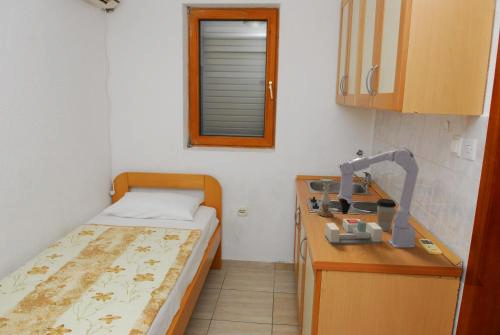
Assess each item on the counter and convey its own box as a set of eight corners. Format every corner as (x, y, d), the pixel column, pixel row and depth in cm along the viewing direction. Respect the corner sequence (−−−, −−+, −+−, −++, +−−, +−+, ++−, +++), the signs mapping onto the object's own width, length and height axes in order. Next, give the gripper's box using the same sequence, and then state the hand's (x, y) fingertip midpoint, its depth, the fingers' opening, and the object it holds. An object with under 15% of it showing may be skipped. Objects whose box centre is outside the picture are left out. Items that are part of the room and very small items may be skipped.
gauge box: (357, 228, 202) (358, 218, 201) (363, 233, 195) (363, 224, 194) (342, 228, 202) (343, 218, 201) (347, 233, 194) (348, 224, 193)
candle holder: (335, 215, 222) (338, 180, 218) (322, 217, 218) (324, 181, 214) (327, 211, 230) (329, 177, 226) (314, 212, 226) (315, 178, 222)
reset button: (355, 225, 200) (356, 219, 199) (358, 228, 196) (359, 222, 195) (347, 226, 200) (347, 219, 199) (349, 229, 195) (350, 222, 195)
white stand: (373, 235, 192) (374, 222, 190) (381, 243, 182) (382, 229, 181) (324, 236, 190) (325, 222, 189) (330, 244, 180) (331, 230, 179)
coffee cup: (393, 227, 205) (395, 199, 202) (394, 233, 196) (397, 204, 193) (374, 225, 207) (376, 197, 204) (374, 231, 198) (376, 202, 195)
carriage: (364, 233, 190) (365, 219, 188) (369, 239, 183) (371, 224, 181) (352, 234, 189) (353, 219, 188) (357, 239, 182) (358, 224, 181)
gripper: (333, 182, 196) (332, 209, 198) (342, 190, 182) (341, 218, 184) (347, 182, 196) (346, 209, 199) (357, 190, 182) (355, 218, 185)
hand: (344, 213), depth 192 cm, fingers closed
